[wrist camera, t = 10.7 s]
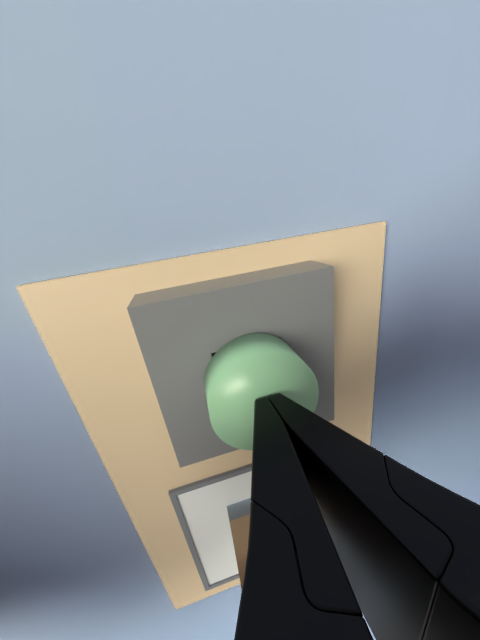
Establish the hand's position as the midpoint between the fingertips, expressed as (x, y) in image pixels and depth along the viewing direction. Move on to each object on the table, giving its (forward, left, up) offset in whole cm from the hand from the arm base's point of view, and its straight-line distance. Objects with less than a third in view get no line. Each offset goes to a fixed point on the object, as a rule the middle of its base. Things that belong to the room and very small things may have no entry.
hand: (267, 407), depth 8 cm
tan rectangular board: (-6, 0, -4) cm, 7 cm away
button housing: (0, 0, -4) cm, 4 cm away
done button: (0, 0, -3) cm, 3 cm away
